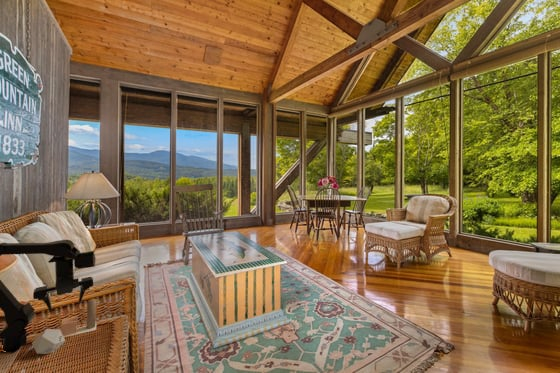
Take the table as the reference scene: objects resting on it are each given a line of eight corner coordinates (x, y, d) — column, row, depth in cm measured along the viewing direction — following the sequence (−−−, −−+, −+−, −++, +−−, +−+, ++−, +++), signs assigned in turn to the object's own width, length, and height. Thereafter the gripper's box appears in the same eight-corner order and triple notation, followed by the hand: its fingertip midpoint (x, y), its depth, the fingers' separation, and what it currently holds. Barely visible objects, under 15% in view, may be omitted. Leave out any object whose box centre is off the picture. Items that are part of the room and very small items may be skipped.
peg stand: (56, 341, 101) (58, 309, 101) (59, 332, 107) (60, 302, 107) (96, 331, 109) (97, 302, 109) (96, 324, 115) (97, 296, 114)
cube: (60, 336, 103) (61, 324, 103) (62, 330, 107) (62, 319, 107) (75, 333, 106) (76, 321, 106) (76, 327, 110) (77, 316, 110)
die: (35, 365, 89) (58, 339, 92) (19, 349, 90) (43, 324, 93) (54, 358, 97) (75, 334, 100) (39, 343, 98) (60, 320, 101)
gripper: (31, 282, 91) (32, 324, 92) (94, 270, 103) (94, 307, 104) (34, 274, 100) (35, 311, 100) (91, 263, 112) (92, 297, 112)
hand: (65, 307), depth 104 cm, fingers open, 9 cm apart
